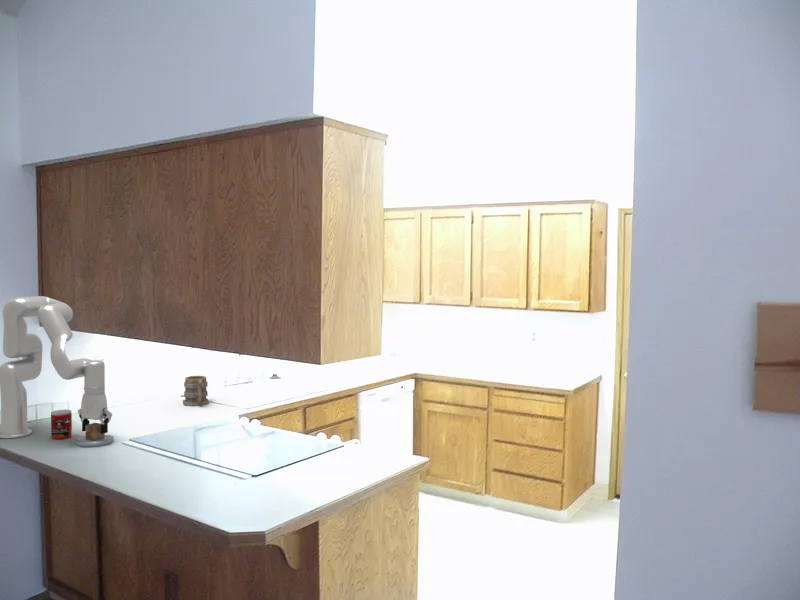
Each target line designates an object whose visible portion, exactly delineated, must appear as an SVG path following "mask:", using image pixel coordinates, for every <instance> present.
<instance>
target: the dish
mask: <svg viewBox="0 0 800 600" xmlns="http://www.w3.org/2000/svg"><path fill="white" fill-rule="evenodd" d="M75 440H76V441H75V443H76V446H77V447H79V448H84V449H85V448H89V449H90V448H99V447H100V448H101V447H104V446H105V447H106V446H108V445H112V444H113V443H114V442H115V437H114V435H111V434H105V438H104V439H101V440H98V441H89V440H86V435H85V436H82V437H79V438H78V439H75Z"/></svg>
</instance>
